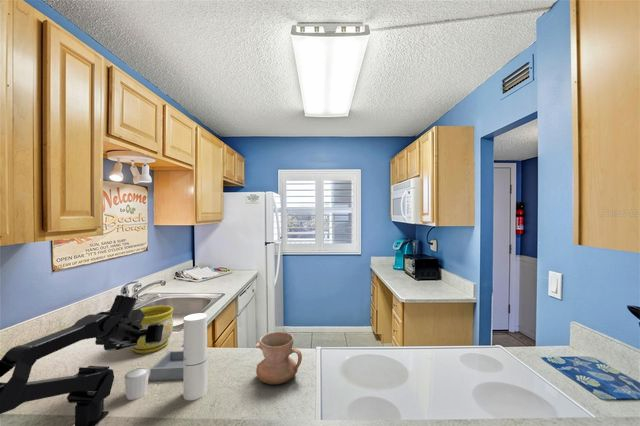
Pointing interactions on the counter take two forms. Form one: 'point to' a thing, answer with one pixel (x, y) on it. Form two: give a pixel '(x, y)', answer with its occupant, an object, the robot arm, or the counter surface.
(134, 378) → the short white cylinder
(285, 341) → the ceramic jug
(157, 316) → the flowerpot
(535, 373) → the counter surface
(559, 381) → the counter surface
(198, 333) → the cylindrical container
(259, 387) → the counter surface
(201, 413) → the counter surface
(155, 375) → the tray
